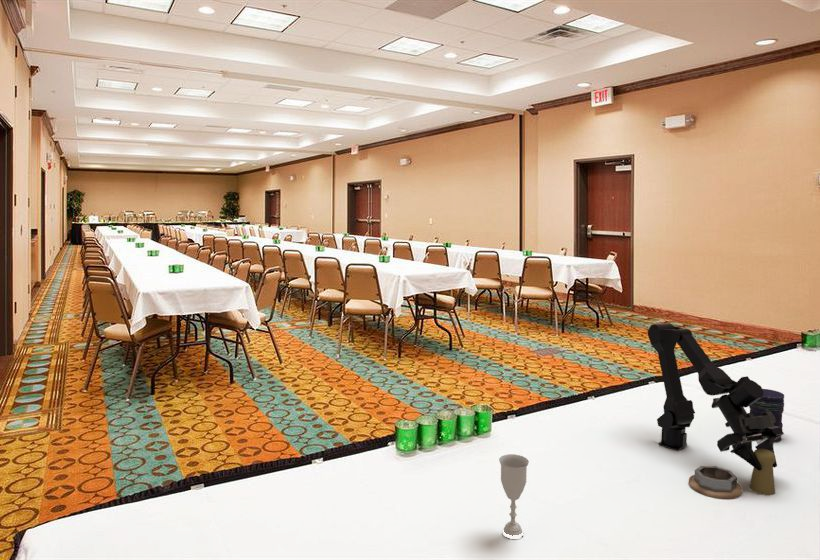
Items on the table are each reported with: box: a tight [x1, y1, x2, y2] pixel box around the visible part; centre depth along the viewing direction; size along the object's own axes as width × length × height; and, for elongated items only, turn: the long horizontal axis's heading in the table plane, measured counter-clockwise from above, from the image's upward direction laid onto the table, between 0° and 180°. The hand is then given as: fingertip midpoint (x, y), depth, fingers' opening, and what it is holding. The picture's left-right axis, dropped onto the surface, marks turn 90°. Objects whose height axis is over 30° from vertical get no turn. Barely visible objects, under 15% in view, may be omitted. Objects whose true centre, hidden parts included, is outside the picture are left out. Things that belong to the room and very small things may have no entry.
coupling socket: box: [688, 465, 743, 500], centre depth 163 cm, size 13×13×4 cm
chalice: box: [498, 453, 530, 536], centre depth 140 cm, size 7×7×18 cm
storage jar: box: [748, 388, 785, 444], centre depth 197 cm, size 10×10×15 cm
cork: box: [748, 449, 777, 496], centre depth 161 cm, size 6×6×11 cm
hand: (768, 468), depth 160 cm, fingers closed on cork, 5 cm apart
